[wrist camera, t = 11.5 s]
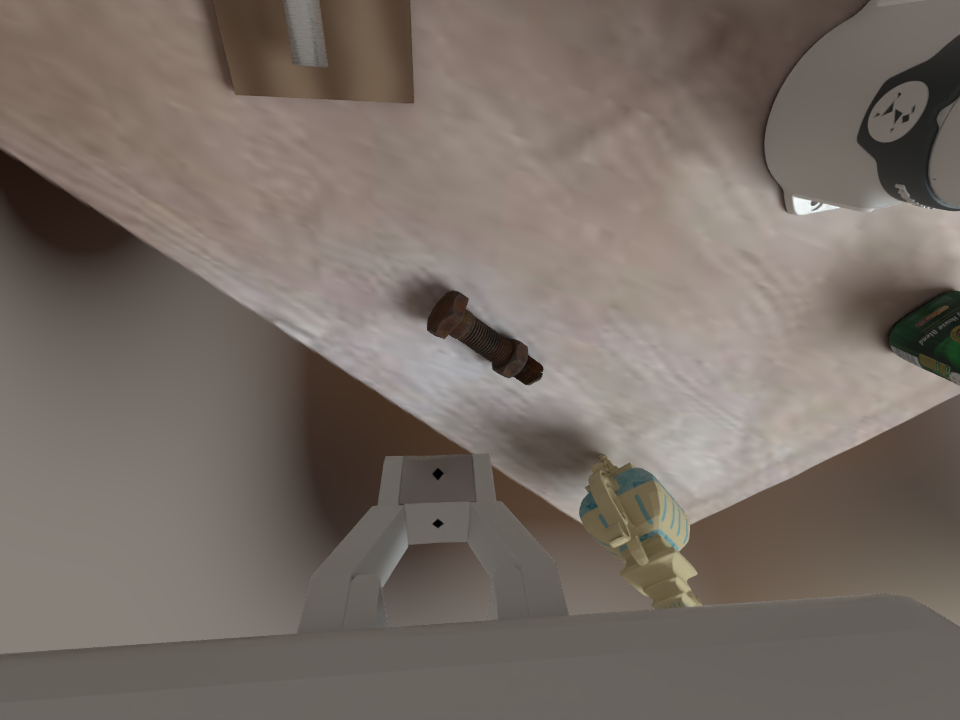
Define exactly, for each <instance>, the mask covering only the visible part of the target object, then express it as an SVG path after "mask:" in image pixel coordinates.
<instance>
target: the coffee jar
mask: <svg viewBox="0 0 960 720" xmlns="http://www.w3.org/2000/svg"><path fill="white" fill-rule="evenodd" d="M889 345H890V347H891V349H892V351H893V352H894V353H895V354H896V355H897V356H899V357H901V358H902V359H904V360H906V361H908V362H910V363H912V364H914V365H916V366H919V367H921V368H923V369H925V370H927V371H929V372H932V373H934V374H936V375H938V376H940V377H943V378H945V379H947V380H949V381H951V382H953V383H955V384H957V385H959V386H960V291H954V292H948V293H945V294H943V295H940V296H939V297H937V298H935V299H933V300H932V301H930V302H928V303H926V304H925V305H923V306H922V307H920V308H918V309H917V310H915V311H914V312H912V313H911V314H909V315H908V316H907V317H905V318H904V319H902V320H901V321H900V322H898V323H897V324H896V325H895V326H894V327H893V329H892V331H891V333H890V336H889Z"/></svg>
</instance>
